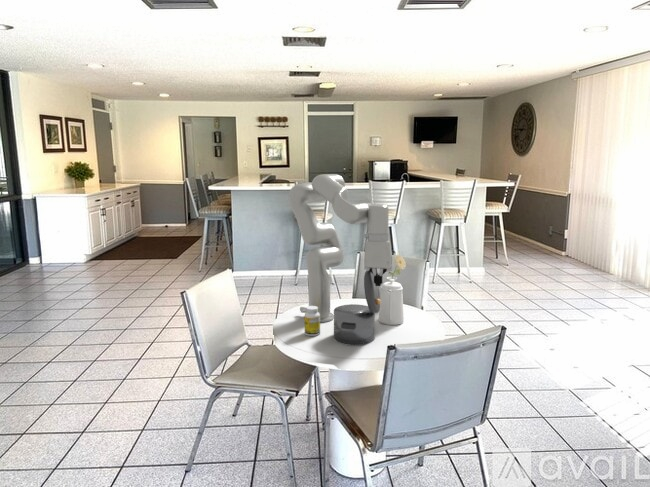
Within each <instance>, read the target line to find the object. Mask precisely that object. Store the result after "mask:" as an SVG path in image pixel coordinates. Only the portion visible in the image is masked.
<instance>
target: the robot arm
mask: <svg viewBox="0 0 650 487" xmlns="http://www.w3.org/2000/svg"><path fill="white" fill-rule="evenodd" d="M345 182H346V181H345V180H344V178H343V177H342V175H339V174H337V173H330V174H329V173H327V174H324V173H323V174H317V175H316V176H315V177H314V178H312V181H311V182H304V183H297V184H296V185H293V186H292V187H291V188H290V190H289V193H288V203H289V206H290V209H291V210H292V213H293V214H294V216H295V219H296V222H297V225H298V227H299V232H300V234H301V237H302V240H303V242H304V244H305V245H306V246H308V247H309V246H310V247H313V246H319V247H315V248H311V249H309V250H308V251H307V253H306V254H305V262H306V267H307V268H306V269H307V275H308V277H307V278H308V306H317V307H318V312H319V314H320V323H327V322H330V321H332V320H334V313H332V312H331V277H330V274H329V273H328V271H327V269H330V268H335V267H338V266H340V265H341V264H343V262H344V256H345V254H344V250H343V248H342V245H341V242H340V239H339V235H338V233H337V230H336V228H335V226H333V224H331V223H330V222H319V221H318V219H317V216H316V213H315V212H314V210H313V208H311V207H310V206H309V205H308V203H321V202H325V201H327V202H329V203H330V204H331V207H332V210H333V213H334V214H335V215H336V216H337V217H338V218H339V219H341V220H342V221H344V222H345V223H347V224H349V225H357V224H364V223H365V224H366V223H367V227H368V228H367V233H366V234H364V236H363V237H364V238H365V239H367V240H366V241H365V244H364V245H365V246H364V252H363V254H364V256H363V258H364V259H363V265H364V267H363V270H364V271H367V270H368V271H370V272H371V273H372V274H373V275H374V283H375V286H379V287H381V286H382V284H383V275H384V274H385V273H387V272H388V273H389V272H392V271H393V253H392V244H391V241H390V240H389V214H390V213H389V207H388V205H386V204H383V203H382V204H379V203H377V204H376V203H372V202H360V203H350V202H348V201H347V200H348V198H349V190H348V189H347V188H346V187H345V186H346V183H345ZM320 245H323V246H320ZM378 269H379V272H378ZM299 311H300V313H304V314H305V313H306V312H307V311H306V307H305V306H300V308H299Z"/></svg>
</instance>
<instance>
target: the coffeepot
mask: <svg viewBox="0 0 650 487" xmlns="http://www.w3.org/2000/svg"><path fill="white" fill-rule="evenodd" d="M389 281H390V282H388V281H386V282H382V284H381V285H380V301H381V304H380V310H379V312H378V316H377V317H378V318H377V319H378V321H379V323H380V324H383V325H385V326H397V325H401V324H402V323H403V322H404V320H405V319H404V318H405V317H404V314H405V313H404V298H403V296H404V295H403V289H404V288H403V286H402V284H401V283H400V282H397V281H395V282H393V281H394V279H390V280H389Z"/></svg>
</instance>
